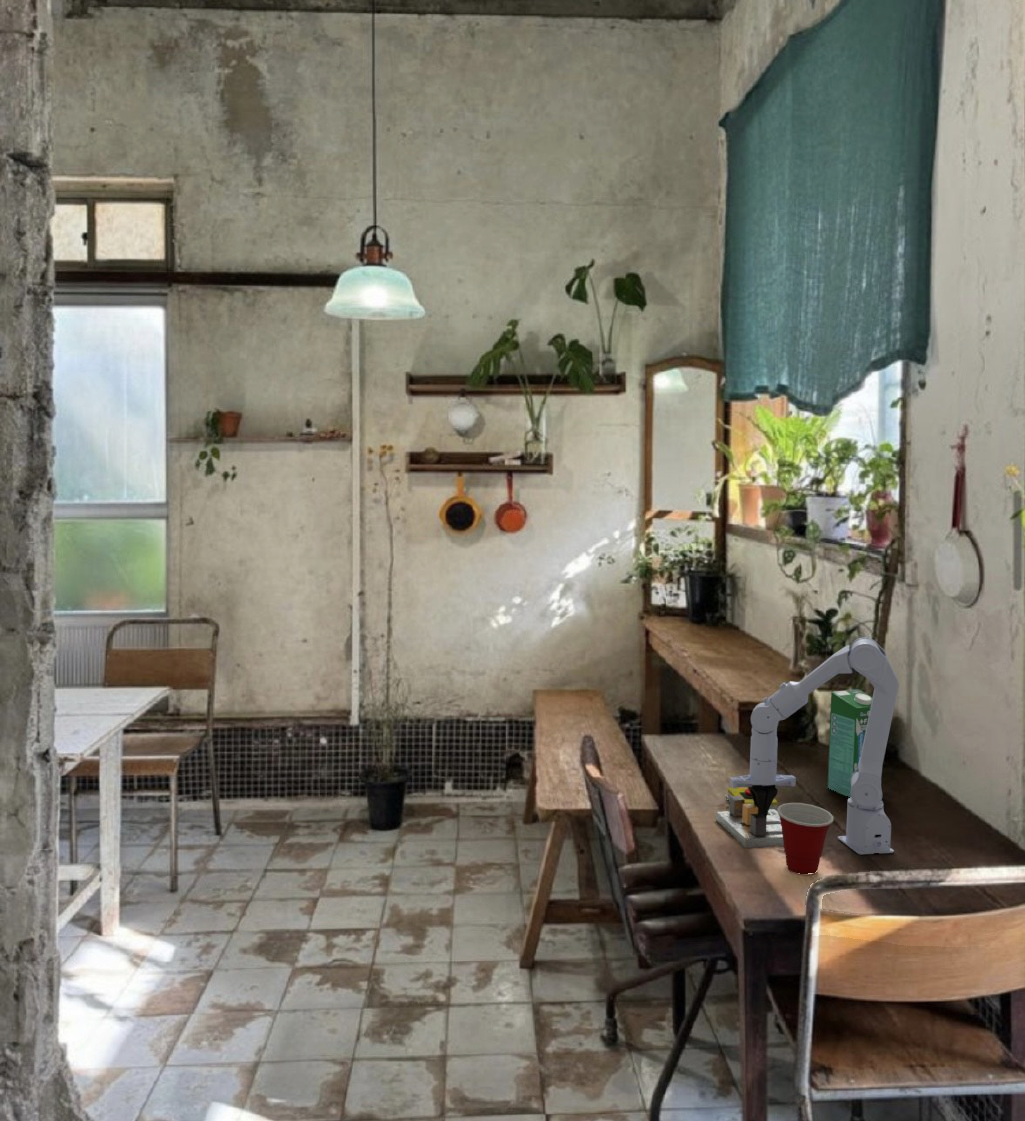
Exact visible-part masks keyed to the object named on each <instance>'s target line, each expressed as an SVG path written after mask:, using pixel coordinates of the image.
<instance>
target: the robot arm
mask: <svg viewBox="0 0 1025 1121" xmlns="http://www.w3.org/2000/svg"><path fill="white" fill-rule="evenodd" d="M853 670H854V671H856V672H857V673H859V674H860V675H862V676H864V677H865V678H866V680H868V682H869V683H870V684H871V685H872V686H873V689H874V690H873V694H872V703H871V707H870V712H869V717H868V722H867V727H866V732H865V737H864V742H863V747H862V752H861V756H860V759H859V763H858V767H857V769H856V770H855V771H854V773H853V774H852V776H851V779H850V783H851V790H850V794H851V797H850V798H849V797H848V799H847V803H846V805H847V806H846V807H847V808H846V830H845V835H840V836H837V839H838V840H839V841H841V842H842V843H843V844H844V845H846V846H847V847H848V848H850V850H852V851H854V852H855V853H856V854H858V855H874V853H879V854H894V853H895V850H894V849H893V848H891V838H892V837H891V835H892V823H891V820H890V819H889V817H888V816H887V815H886V813H885V811H884V809H885V808H884V801H883V800H882V799H883V791H882V775H881V774H883V764H884V759H885V754H886V750H887V749H886V748H887V744H888V739H889V734H890V731H891V725H892V721H893V715H894V712H895V706H896V701H897V697H898V696H897V695H898V691H899V683H900V682H899V679H898V677H897V675H896V673H895V670H894V667H893V666H892V664H891V661H890V660H889V657H888V656H887V652H886V651H885V650H884V648H883V647H881V646H880V645H879V643H877V641H876V640H874V639H872V638H870V637H866V636H865V637H860V638H857V639H855V640H854V641H853V642H851V645H850V644H847V645H845V646H844V647H842V648H841V649H840V650H838V651H836V652H835V653H833V654H832V655H831V656H830V657H829V658H827V659H826V660H825V661H824V662H822V663H821V664H820V665H819V666H817V667H816V668H814V670H812V671H811V672H810V673H808V675H806V676H805V677H803V678H802V679H801V680H800V681H793V680H792V681H791V680H790V681H789V682H787V683H786V682H782V683H781V684H780V685H779V689H778V690H776V691H775V692H774V693H773V694H772V695H770V696H768V697H767V696H765V697H764V698H763V699H762V702H760V703H758V704H756V705H755V707H754V708H753V709H752V712H751V715H750V724H751V736H750V750H749V751H750V752H749V753H750V755H749V757H750V758H749V774H747V775H740V776H734V777H732V776H731V777H729V788H733V789H737V788H738V787H748V789H749V791H750V793H751V795H752V798H753V801H754V804H755V806H757V807H758V814H762V815H764V816H765V817H766V818H767V814H768V811H769V808H770V805H771V803H772V801H773V800H774V799H776V797H777V795H778V792H779V791H778V788H777V787H782V786H783V787H784V786H790V787H796V785H797V784H796V783H797V779H796V776H794V775H792V774H788V775H787V774H786V775H785V774H777V770H778V767H777V766H778V740H779V739H778V736H777V735H778V734H777V732H778V726H779V722H780V721H783V720H786V719H788V718H789V717H790V716H791V715H793V714H794V713H796V712H797V711H798V710H800V709H801V708H803V706H805V705H806V704H808V702H809V694H811V693H812V692H814V691H815V690H817V689H818V688H820V687H821V686H823V685H825V683H826V682H828V681H830V680H831V679H833V678H834V677H835V676H837V675H839V674H853ZM893 852H894V853H893Z"/></svg>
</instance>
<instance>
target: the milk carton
mask: <svg viewBox="0 0 1025 1121" xmlns="http://www.w3.org/2000/svg"><path fill="white" fill-rule="evenodd" d="M872 698H873V696H871V695H869V694H867V693H866V692H864V691H863V690H860V689H859V688H857V689H856V688H855V689H848V690H847V689H845V690H838V691H837V690H836V691H835V690H834V691H831V693H830V717H829V718H830V719H829V721H830V722H829V741H828V742H829V747H828V764H827V765H828V767H827V768H828V770H827V789H828V788H829V789H828V790H830V789H831V790H830V791H833V790H834V792H835V791H836V793H837V794H840V795H843V796H845V797H847V796H848V797H847V798H849V797H851V794H850V790H851V783H850V779H851V776H852V774H853V773H854V771H855V770H856V769H857V767H858V763H859V759H860V756H861V752H862V747H863V742H864V737H865V732H866V727H867V722H868V717H869V712H870V707H871V703H872ZM882 774H883V773H882ZM882 774H881V776H883V775H882Z"/></svg>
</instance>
